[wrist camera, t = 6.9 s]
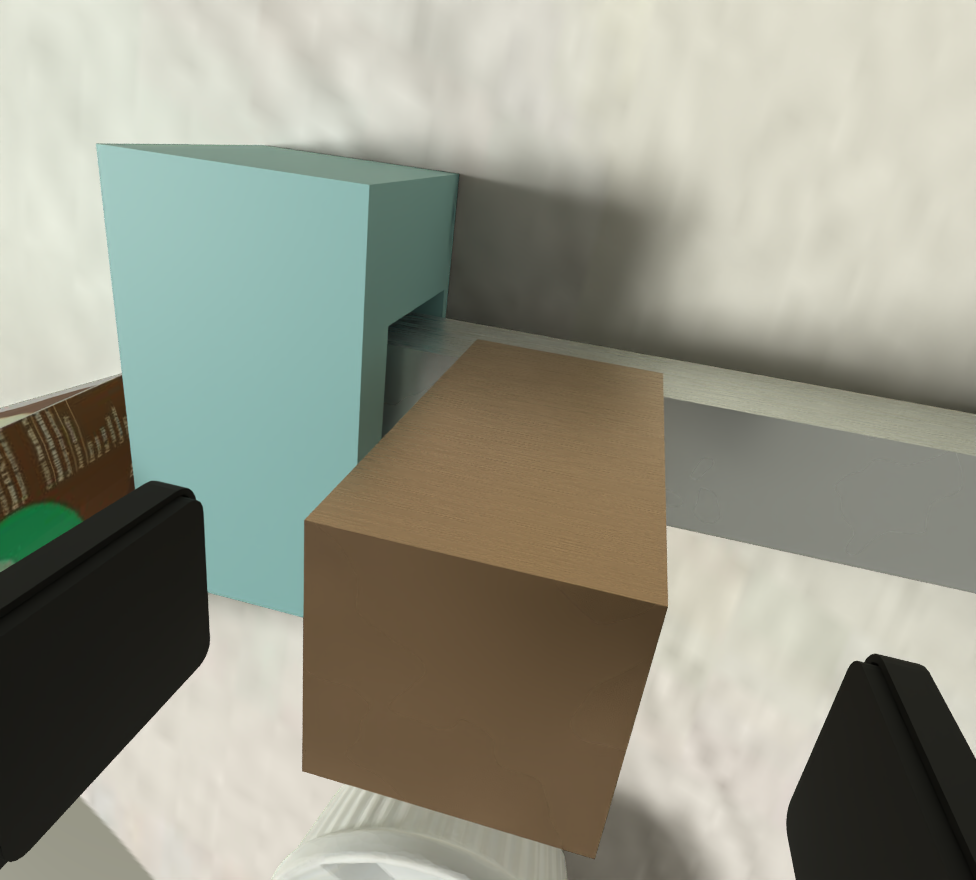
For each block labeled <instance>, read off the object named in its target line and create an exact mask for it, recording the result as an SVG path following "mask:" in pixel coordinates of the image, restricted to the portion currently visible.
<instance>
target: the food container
mask: <svg viewBox="0 0 976 880" xmlns="http://www.w3.org/2000/svg"><path fill="white" fill-rule="evenodd" d="M133 490H135V484H134V475H133V466H132V457H131V448H130V439H129V431H128V422H127V413H126V404H125V395H124V386H123V378H122V373H121V374H118V375H114V376H111V377H107V378H104V379H100V380H97V381H93V382H90V383H86V384H83V385H79V386H76V387H72V388H69V389H65V390H62V391H58V392H55V393H51V394H48V395H44V396H41V397H37V398H34V399H30V400H27V401H23V402H20V403H16V404H13V405H9V406H6V407H2V408H0V572H2V571H3V570H5V569H6V568H8V567H10V566H11V565H13V564H15V563H16V562H18V561H19V560H21V559H23V558H24V557H26V556H28V555H29V554H31V553H32V552H34V551H36V550H37V549H39V548H41V547H42V546H44V545H45V544H47V543H49V542H50V541H52V540H54V539H55V538H57V537H59V536H60V535H62V534H63V533H65V532H67V531H68V530H70V529H72V528H73V527H75V526H76V525H78V524H80V523H81V522H83V521H85V520H86V519H88V518H89V517H91V516H93V515H94V514H96V513H98V512H99V511H101V510H102V509H104V508H106V507H107V506H109V505H111V504H112V503H114V502H116V501H117V500H119V499H120V498H122V497H124V496H125V495H127V494H129V493H130V492H132V491H133Z"/></svg>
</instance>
